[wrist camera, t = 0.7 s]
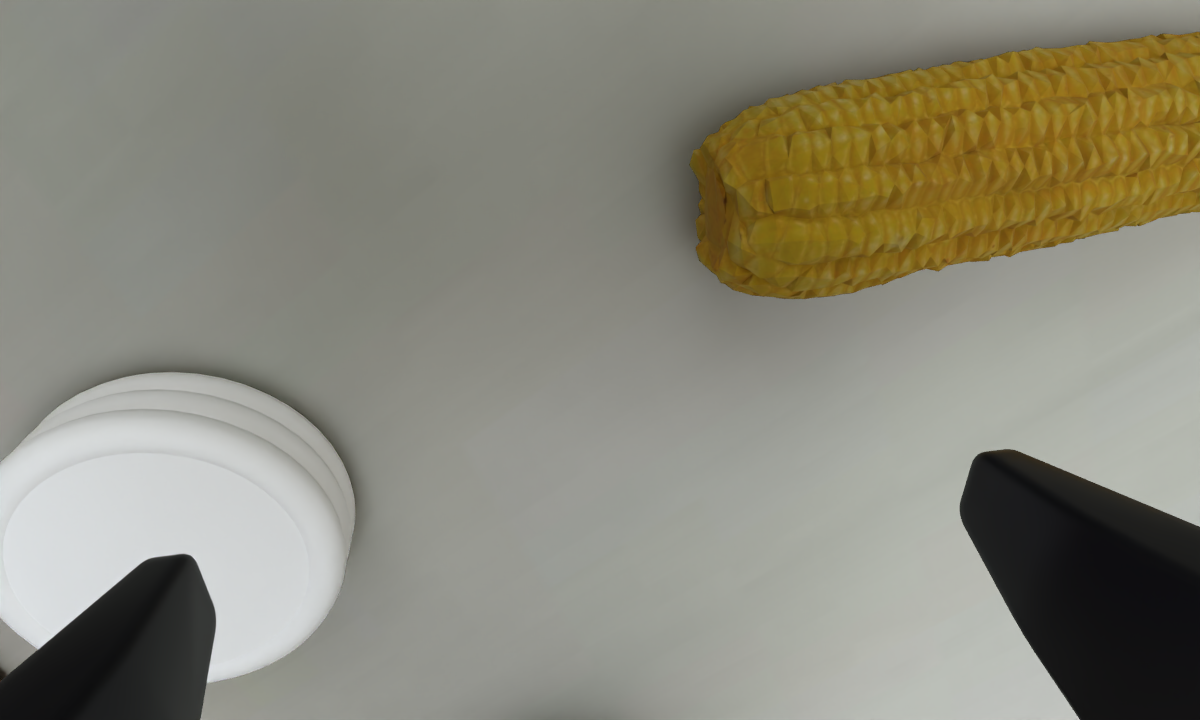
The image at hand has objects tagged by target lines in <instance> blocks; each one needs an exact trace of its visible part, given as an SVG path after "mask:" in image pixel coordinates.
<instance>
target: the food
mask: <svg viewBox="0 0 1200 720" xmlns="http://www.w3.org/2000/svg"><path fill="white" fill-rule="evenodd" d="M689 165H690V167H691V169H692V170H693V172H694V174H695V175H696V177H697V179H698V180H699V192H700V194H701V197H702V199H701V200H700V202H699V204H698V206H699V210H700V213H701V215H700V216H699V217H698V218H697V219H696V220H695V221H696V229H697V236H698V239H699V240H700V243H699V244H698V245H697V246H696V251H697V255H698V258H699V261H700V262H701V263H702V264H704V265H705V266H706V267H707V268H708V269H709V270H710V271H711V272H713V273H714V274H716V275H717V277H718V279H719V281H720V282H721V283H724V284H726V285H727V286H728V287H730V288H731V289H733V290H735V291H739V292H742V293H746V294H749V295H754V296H763V297H764V296H767V297H776V298H782V299H807V298H815V297H827V296H835V295H840V294H848V293H854V292H857V291H859V290H862V289H864V288H868V287H872V286H876V285H880V284H882V285H883V284H886V283H888V282H890V281H892V280H894V279H896V278H902V277H904V276H906V275H909V274H911V273H913V272H916V271H919V270H923V269H930V270H935V271H940V270H941V269H943V268H944V267H946V266H947V265H953V264H958V263H963V262H968V261H970V262H976V261H989V260H990V259H991V257H996V256H1004V255H1005V256H1008V257H1011V256H1013V255H1015V254H1017V253H1019V252H1022V251H1028V250H1034V249H1039V248H1046V247H1054V246H1056V245H1058V244H1060V243H1069V242H1073V241H1074V240H1075V239H1083V238H1086V237H1089V236H1093V235H1097V234H1101V233H1107V232H1113V231H1118V230H1119V228H1121V227H1123V226H1137V225H1138V226H1141V225H1144V224H1146V223H1149V222H1151V221H1153V220H1156V219H1158V218H1163V217H1169V216H1174V215H1177V214H1183V213H1190V212H1200V32H1195V33H1190V34H1184V35H1172V34H1160V35H1158V36H1154V35H1149V36H1146V37H1142V38H1137V39H1129V40H1123V41H1118V42H1107V43H1103V42H1092V41H1089V42H1088V43H1087V44H1086V45H1076V46H1070V47H1064V48H1044V49H1042V48H1039V47H1035V48H1034V49H1032V50H1027V51H1026V50H1023V51H1020V52H1014V51H1012V52H1007V53H1004V54H1001V55H998V56H994V57H991V58H987V59H979V60H973V61H970V62H961V61H958V62H953V63H952V64H950V65H941V66H938V67H932V68H929V69H926V70H922V69H921V68H917V69H916V70H914V71H912V70H911V69H910V70H907V71H903V72H900V73H895V74H888V75H885V76H881V77H878V78H871V79H865V80H845V81H843V82H842V83H841V84H838V85H837V84H836V83H835V82H834V83H831V84H828V85H825V86H820V85H818V86H816V87H814V88H812V89H810V90H800V91H798V92H796V93H794V94H792V95H789V94H786V95H784V96H782V97H778V98H770V99H768V100H767V101H766V102H765V103H764V104H763V105H760V106H749V108H748V109H746V110H743V111H742V112H741V113H740V114H739V115H738V116H737V117H736V118H735V119H733V120H730V121H728V122H725V123H724V124H723V125H721V127H720V129H719V132H717V133H714V134H711V135H708V136H707V138H706V139H705V141H704V142H703V144H702V146H701V147H700V149H696V150H694V151H693V154H692V158H691V161H690V164H689Z"/></svg>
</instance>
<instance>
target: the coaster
mask: <svg viewBox="0 0 1200 720" xmlns="http://www.w3.org/2000/svg"><path fill="white" fill-rule="evenodd" d="M355 514H356V511H355V500H354V494H353V490H352V486H351V482H350V479H349V476H348V473H347V471H346V469H345V467H344V464H343V462H342V460H341V458H340V457H339V455H338V454H337V452H336V451H335V449H334V447H333V446H332V445H331V443H330V442H329V441H328V440H327V439H326V437H325V436H324V435H323V434H322V433H321V432H320V430H319V429H317V428H316V427H315V426H314V425H313V424H312V423H311V422H310V421H309V420H307V419H306V418H305V417H304V416H303V415H301V414H300V413H298V412H297V411H296V410H294V409H293V408H291V407H290V406H288V405H287V404H285V403H283V402H282V401H280V400H278V399H276V398H274V397H272V396H270V395H268V394H267V393H264V392H262V391H259V390H257V389H255V388H252V387H250V386H247V385H245V384H241V383H238V382H235V381H231V380H228V379H224V378H220V377H214V376H209V375H203V374H196V373H181V372H161V373H146V374H140V375H133V376H127V377H123V378H120V379H116V380H113V381H110V382H106V383H103V384H100V385H98V386H95V387H93V388H91V389H88V390H86V391H84V392H81V393H79V394H77V395H76V396H74V397H72V398H71V399H69V400H67V401H66V402H64V403H62V404H61V405H60V406H58V407H57V408H56V409H55V410H54V411H52V412H51V413H50V414H49V415H48V416H46V417H45V418H44V420H43V421H42V422H41V423H40V424H39V425H38V426H37V428H36V429H35V430H33V431H32V432H31V433H30V434H29V435H27V436H26V437H25V438H24V440H23V441H22V442H21V443H20V444H19V445H18V446H17V448H16V449H15V450H14V451H13V452H11V453H10V454H9V455H8V456H7V457H5V458H4V459H3V460H2V461H1V463H0V618H1V619H2V620H3V621H4V622H5V623H6V624H7V625H8V626H9V627H10V628H11V629H13V630H14V631H15V632H16V633H17V634H18V635H19V636H21V637H22V638H23V639H25V640H26V641H27V642H29V643H30V644H31V645H33V646H34V647H36V648H37V649H39V648H41V647H42V646H43V645H44V644H45V643H47V642H48V641H49V640H50V639H51V638H52V637H54V636H55V635H56V634H57V633H58V632H60V631H61V630H62V629H63V628H64V627H66V626H67V625H68V624H69V623H70V622H72V621H73V620H74V619H75V618H76V617H77V616H79V615H80V614H81V613H82V612H83V611H85V610H86V609H87V608H88V607H89V606H91V605H92V604H93V603H94V602H95V601H96V600H98V599H99V598H100V597H101V596H102V595H104V594H105V593H106V592H107V591H108V590H110V589H111V588H112V587H113V586H114V585H115V584H117V583H118V582H119V581H120V580H121V579H123V578H124V577H125V576H126V575H127V574H129V573H130V572H131V571H132V570H133V569H135V568H136V567H137V566H138V565H139V564H141V563H142V562H143V561H145V560H147V559H150V558H153V557H160V556H168V555H176V554H188V555H191V556H192V557H193V558H194V559H195V561H196V562H197V564H198V567H199V569H200V572H201V574H202V577H203V579H204V582H205V584H206V587H207V589H208V592H209V594H210V597H211V599H212V602H213V605H214V608H215V613H216V631H215V637H214V643H213V649H212V654H211V660H210V666H209V672H208V677H207V683H211V682H217V681H221V680H226V679H231V678H235V677H238V676H241V675H245V674H248V673H251V672H254V671H256V670H258V669H261V668H263V667H266V666H268V665H270V664H272V663H274V662H276V661H277V660H279V659H281V658H283V657H285V656H286V655H288V654H289V653H290V652H292V651H293V650H295V649H296V648H297V647H299V646H300V645H301V644H302V643H303V642H304V641H306V640H307V639H308V638H309V637H310V636H311V635H312V634H313V633H314V632H315V630H316V629H317V628H318V627H319V626H320V624H321V623H322V622H323V620H324V619H325V617H326V616H327V614H328V613H329V611H330V609H331V608H332V606H333V605H334V603H335V601H336V599H337V597H338V595H339V592H340V590H341V588H342V584H343V580H344V576H345V570H346V563H347V559H348V555H349V551H350V544H351V539H352V535H353V531H354V526H355Z"/></svg>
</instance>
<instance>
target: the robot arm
mask: <svg viewBox="0 0 1200 720" xmlns="http://www.w3.org/2000/svg"><path fill="white" fill-rule="evenodd" d="M960 516H961V519H962V522H963V525H964V527H965V529H966V531H967V532H968V534H969V536H970V538H971V540H972V542H973V543H974V545H975V547H976V549H977V551H978V553H979V555H980V556H981V558H982V560H983V562H984V564H985V566H986V568H987V569H988V571H989V573H990V575H991V577H992V579H993V580H994V582H995V584H996V586H997V588H998V590H999V592H1000V593H1001V595H1002V597H1003V599H1004V601H1005V603H1006V604H1007V606H1008V608H1009V610H1010V612H1011V614H1012V616H1013V617H1014V619H1015V621H1016V622H1017V624H1018V626H1019V628H1020V629H1021V631H1022V633H1023V635H1024V636H1025V638H1026V639H1027V641H1028V642H1029V644H1030V646H1031V647H1032V649H1033V650H1034V652H1035V653H1036V655H1037V656H1038V658H1039V659H1040V661H1041V662H1042V664H1043V665H1044V667H1045V668H1046V670H1047V671H1048V673H1049V674H1050V676H1051V677H1052V679H1053V680H1054V682H1055V683H1056V685H1057V686H1058V688H1059V689H1060V691H1061V692H1062V694H1063V695H1064V697H1065V698H1066V700H1067V701H1068V703H1069V704H1070V706H1071V707H1072V708H1073V710H1074V711H1075V713H1076V714H1077V716H1078V717H1079V719H1080V720H1200V527H1199V526H1196V525H1194V524H1191V523H1189V522H1187V521H1184V520H1182V519H1179V518H1177V517H1175V516H1172V515H1170V514H1167V513H1165V512H1163V511H1160V510H1158V509H1155V508H1153V507H1151V506H1148V505H1146V504H1143V503H1141V502H1139V501H1136V500H1134V499H1131V498H1129V497H1127V496H1124V495H1122V494H1119V493H1117V492H1115V491H1112V490H1110V489H1107V488H1105V487H1103V486H1100V485H1098V484H1095V483H1093V482H1091V481H1088V480H1086V479H1083V478H1081V477H1079V476H1076V475H1074V474H1071V473H1069V472H1067V471H1064V470H1062V469H1059V468H1057V467H1055V466H1052V465H1050V464H1047V463H1045V462H1043V461H1040V460H1038V459H1035V458H1033V457H1031V456H1028V455H1026V454H1023V453H1021V452H1018V451H1016V450H1011V449H1004V450H996V451H988V452H983V453H980V454H978V455H977V456H976V457H975V459H974V460H973V462H972V465H971V468H970V471H969V475H968V478H967V481H966V485H965V488H964V491H963V495H962V498H961V502H960ZM215 631H216V613H215V608H214V605H213V602H212V599H211V597H210V594H209V592H208V589H207V587H206V584H205V582H204V579H203V577H202V574H201V572H200V569H199V567H198V564H197V562H196V561H195V559H194V558H193V557H192V556H191V555H188V554H176V555H168V556H160V557H153V558H150V559H147V560H145V561H143V562H142V563H141V564H139V565H138V566H137V567H136V568H135V569H133V570H132V571H131V572H130V573H129V574H127V575H126V576H125V577H124V578H123V579H121V580H120V581H119V582H118V583H117V584H115V585H114V586H113V587H112V588H111V589H110V590H108V591H107V592H106V593H105V594H104V595H102V596H101V597H100V598H99V599H98V600H96V601H95V602H94V603H93V604H92V605H91V606H89V607H88V608H87V609H86V610H85V611H83V612H82V613H81V614H80V615H79V616H77V617H76V618H75V619H74V620H73V621H72V622H70V623H69V624H68V625H67V626H66V627H64V628H63V629H62V630H61V631H60V632H58V633H57V634H56V635H55V636H54V637H52V638H51V639H50V640H49V641H48V642H47V643H45V644H44V645H43V646H42V647H41V648H39V649H38V650H37V651H36V652H35V653H33V654H32V655H31V656H30V657H29V658H28V659H26V660H25V661H24V662H23V663H22V664H20V665H19V666H18V667H17V668H16V669H14V670H13V671H12V672H11V673H10V674H9V675H7V676H6V677H5V678H4V679H3V680H1V681H0V720H200V718H201V712H202V706H203V700H204V695H205V689H206V683H207V677H208V672H209V666H210V660H211V654H212V649H213V643H214V637H215Z"/></svg>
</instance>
